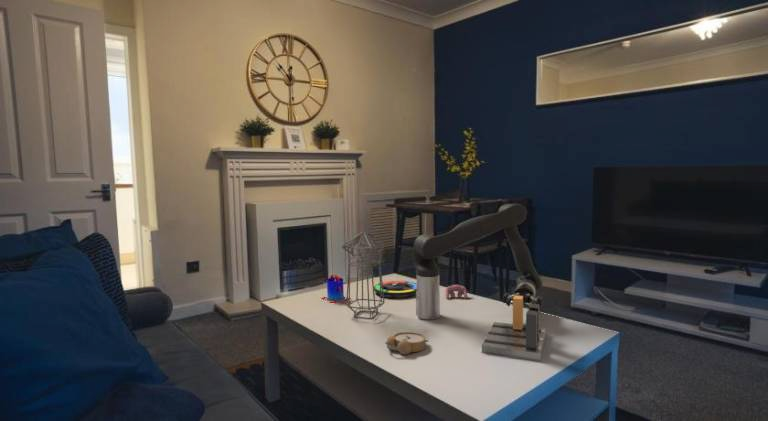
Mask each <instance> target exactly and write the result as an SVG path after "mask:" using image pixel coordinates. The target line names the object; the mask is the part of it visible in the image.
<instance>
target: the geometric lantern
mask: <svg viewBox="0 0 768 421" xmlns="http://www.w3.org/2000/svg"><path fill="white" fill-rule="evenodd" d="M363 236H364V237H365V240H366V242H362V238H363ZM375 240H377V241H378V242H377V241H375ZM357 243H358V246H357V247H356V245H357ZM386 244H387V245H388V242H386V241H384V240H382V239H380V238H378V237H376V236H374V235H372V234H370V233H369V232H367V231H361V232H360V233H358V234H357V235H355V236H354V237H352V238H351V239H349V240H347V241H346V242H344V243H343V244H342V245H340V247H341V248H342V249H343V250H344V251H345V252H347V254H348V255H347V258H348V260H347V261H348V263H347V281H346V282H347V283H346V285H347V286H346V287H347V288H346V298H347V300H346V301H345V302H346V305H345V306H346V307H347V308H348V309H350V310H351V311H352V312H353V318H360V319H361V318H362V319H369V320H370V319H374V318H375V317H376V316H377V315H378V314H379V308H381V307H382V306H383V305H384V304H385V303H386V302H385V297H384V292H383V282H384V281H383V276H382V265H381V263H382V252H383V250H384V247H385V246H386ZM365 245H368V246H365ZM361 246H362V247H361ZM349 249H350V250H349ZM354 249H357V252H358V253H357V254H356V253H354ZM379 249H380V250H379ZM360 250H363V251H362V252H360ZM369 251H371V252H372V253H373V254H374V255H373V257H372V260H365V258H366V257H367V254H368V252H369ZM364 253H365V254H364ZM350 254H351V257H350ZM362 254H364V255H363V256H362ZM377 255H379V259H378V257H377ZM356 256H360V258H361V260H359V259H357V257H356ZM353 257H354V258H355V261H353V262H351V261H352V258H353ZM374 259H376V260H374ZM363 262H364V263H363ZM367 262H369V263H370V264H369V265H368V263H367ZM355 263H357V264H355ZM359 263H361V265H359ZM372 263H375V264H373V265H372ZM363 264H365V265H363ZM377 265H378V275H379V276H378V277H379V283H380V295H379V296H380V299H376V294H375V291H374V286H375V285H374V284H375V283H374V275H373V274H374V273H373V267H375V266H377ZM351 267H356V297H355V300H353V301H352V302H351V300H350V298H351ZM359 267H361V298H358V297H359V296H358V292H359ZM364 268H366V283H367V284H366V285H367V286H366V287H367V289H366V290H367V298H364V272H363V271H364V270H363V269H364ZM369 268H370V272H371V284H372V296H373V299H370V288H369V285H370V284H369ZM381 285H382V294H383V296H382V294H381ZM348 297H349V300H348ZM359 301H361V304H360V302H359ZM363 301H367V306H365V307H364V305H363V304H364V302H363ZM370 301H372V302H373V306H370ZM355 302H357V305H358V306H351V305H352V304H354V303H355ZM376 302H379V303H378V304H377V305H376ZM354 309H355V310H354ZM357 310H359V311H357ZM359 313H360V314H369V317H367V316H366V317H365V316H357V315H359ZM374 313H375V314H374Z"/></svg>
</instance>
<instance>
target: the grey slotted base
mask: <svg viewBox="0 0 768 421" xmlns="http://www.w3.org/2000/svg"><path fill="white" fill-rule="evenodd" d="M525 315H526V316H525V318H526V319H525V325H524V324H523V328H522V330H518V329H513V323H508V322H507V323H505V322H498V321H494V322H493V323H492V325H491V327H490V329H489V331H488V333H487V335H486V336H485V338H484V340H483V342H482V344H481V353H483V354H487V355H488V354H490V355H495V356H503V357H508V358H509V357H510V358H517V359H523V360H529V361H537V362H541V361H542V356H543V352H544V346H545V340H546V334H547V333H546V332H547V327H540V306H539V304H530V305H528V310H527V311H526V314H525Z"/></svg>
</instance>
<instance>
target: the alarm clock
mask: <svg viewBox="0 0 768 421" xmlns="http://www.w3.org/2000/svg"><path fill="white" fill-rule="evenodd" d="M426 338H427V337H426V336H425V335H423V334H421V333H418V332H413V331H402V332H397V333H395V334H393V335H389V336H388V337H387V338H386V341H385V345H386V348H387V349H388V350H391V351H398V352H399V353H400V354H401V355H407V356H408V355H409V354H410V353H415V352H421V351H424V350H425V349H426V343H427V342H429V340H428V339H426Z"/></svg>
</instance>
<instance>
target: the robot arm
mask: <svg viewBox="0 0 768 421" xmlns="http://www.w3.org/2000/svg"><path fill="white" fill-rule="evenodd" d="M527 215H528V211H527V209H526V207H525V206H524V205H522V204H519V203H506V204H502V205H501V206H500V207H499V208H498V211H497V212H495V213H490V214H484V215H479V216H476V217H472V218H469V219H466V220H465V221H464V220H463V221H462V222H460V223H459V224H457V225H456V226H455V227H453V229H452V230H450V231H448V232H446V233H442V234H439V235H435V236H433V235H429V234H421V235H419V236H417V237H416V239H415V240H414V243H413V260H414V261H413V262H414V268H415V272H416V284H417V292H416V294H415V315H416V316H417V318H418V320H420V319H422V320H435V319H438V318H440V317H441V309H440V308H441V306H440V305H441V304H440V303H441V302H440V300H441V299H440V293H441V292H440V268H439V266H438V264H437V263H436V262H437V261H436V259H438V258H440V257H441V256H443V255H445V254H447V253H448V252H451V251H452V250H455V249H457V248H460V247H464V246H466V245H468V244H471V243H474V242H476V241H479V240H481V239H483V238H485V237H486V238H487V237H488V236H490V235H493V234H494V233H497V232H498V231H501V230H503V232H504V233H505V234H504V235H505V236H506V238H507V241H508V244H509V246H510V248H511V252H512V256H513V259H514V262H515V268H516V270H517V271H518V272H522V273H528V274H529V275H521V276H518V277H517V278H516V288H515V291H514V293H512V294H509V292H504V294H503V295H502V303H503V304H505V305H506V306H507V307H510V306H511V304H513V297H514V295H516V296H523V306H529V305H530V304H539V307H542V306H543V295H538V296H537V297H536V291H540V290H541V289H542V288H543V281H542V278H541V276H540V275H539V273H538V272H537V270H536V268H535V266H534V264H533V260H532V256H531V252H530V250H529V248H528V245H527V244H526V242H525V241H524V239H523V238H522V236H521V235H520V232H519V230H518V226H517V225H521V224H522V223H524V221H526V219H527V217H528V216H527Z"/></svg>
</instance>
